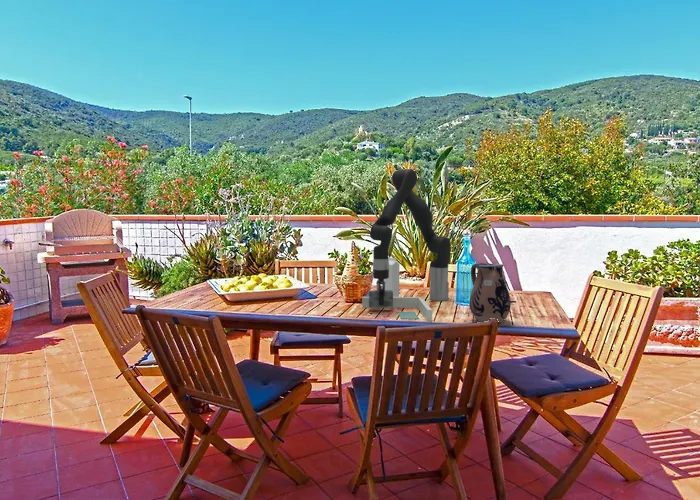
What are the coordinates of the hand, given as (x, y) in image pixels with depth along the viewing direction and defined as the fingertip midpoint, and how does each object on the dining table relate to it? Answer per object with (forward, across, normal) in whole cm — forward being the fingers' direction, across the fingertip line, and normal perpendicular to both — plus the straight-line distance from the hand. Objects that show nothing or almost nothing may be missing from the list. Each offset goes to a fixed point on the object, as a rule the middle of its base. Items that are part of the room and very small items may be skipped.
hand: (380, 303), depth 259 cm
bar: (+1, 0, 0) cm, 1 cm away
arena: (+4, -6, -6) cm, 9 cm away
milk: (+4, +28, -8) cm, 29 cm away
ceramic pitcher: (+4, -20, -45) cm, 49 cm away
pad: (+3, -10, -12) cm, 16 cm away
